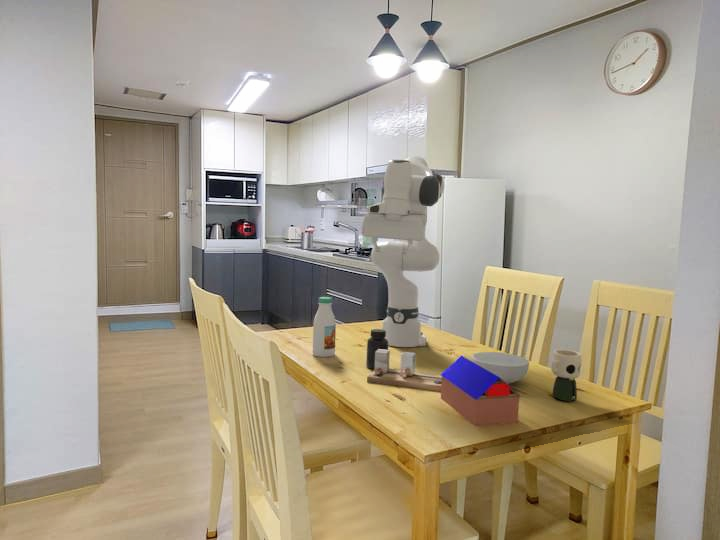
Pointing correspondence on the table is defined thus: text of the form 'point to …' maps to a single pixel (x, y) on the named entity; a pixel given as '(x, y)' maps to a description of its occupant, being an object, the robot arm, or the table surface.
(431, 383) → the board
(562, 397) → the character mug
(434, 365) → the table surface
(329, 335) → the milk bottle
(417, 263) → the robot arm
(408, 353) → the block
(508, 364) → the cereal bowl
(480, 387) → the house
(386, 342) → the supplement bottle
